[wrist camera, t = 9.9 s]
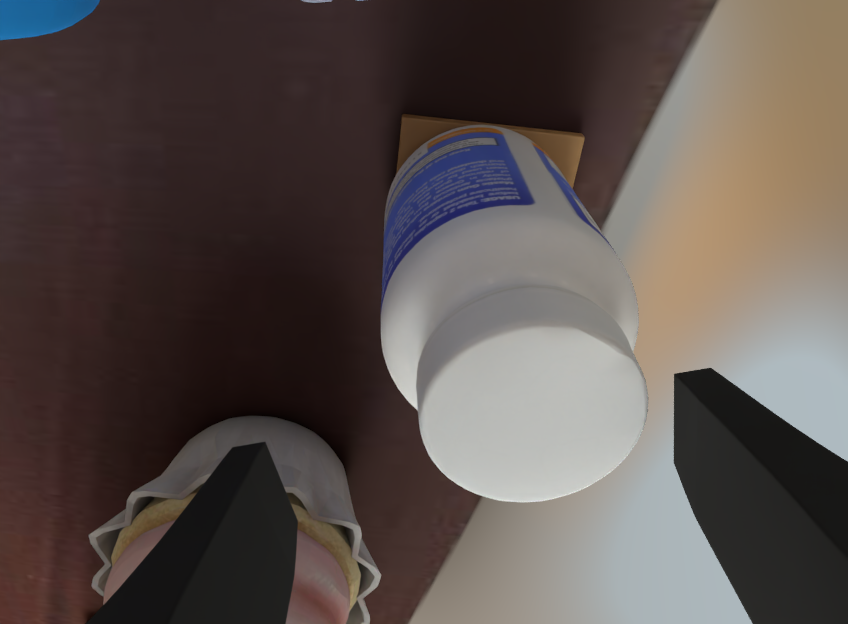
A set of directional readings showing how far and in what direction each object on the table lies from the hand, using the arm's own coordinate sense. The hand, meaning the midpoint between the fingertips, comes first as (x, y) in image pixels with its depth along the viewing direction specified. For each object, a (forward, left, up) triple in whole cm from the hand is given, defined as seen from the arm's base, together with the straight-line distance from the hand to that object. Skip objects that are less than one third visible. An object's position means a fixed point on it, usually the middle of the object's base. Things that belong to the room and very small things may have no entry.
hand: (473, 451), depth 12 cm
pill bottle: (0, -1, -10) cm, 10 cm away
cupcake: (-9, +9, -10) cm, 16 cm away
